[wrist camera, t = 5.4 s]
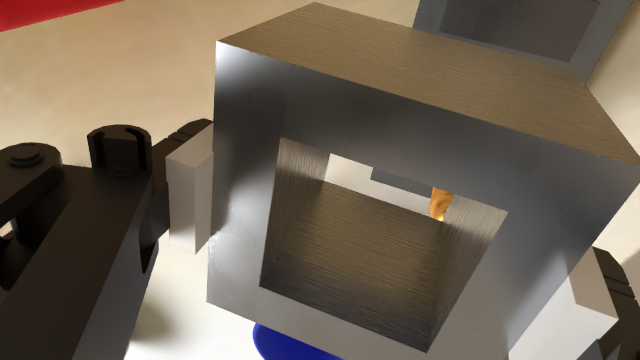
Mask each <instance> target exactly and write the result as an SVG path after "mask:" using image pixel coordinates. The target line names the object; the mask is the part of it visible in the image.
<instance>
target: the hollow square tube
mask: <svg viewBox="0 0 640 360" xmlns="http://www.w3.org/2000/svg"><path fill="white" fill-rule="evenodd" d="M212 152H214V160H213V185H212V210H211V235H210V238H209V252H208V279H207V302H208V303H211V304H213V305H215V306H218V307H220V308H223V309H225V310H227V311H230V312H232V313H235V314H237V315H239V316H242V317H244V318H246V319H249V320H251V321H254V322H256V323H258V324H261V325H263V326H266V327H268V328H270V329H273V330H275V331H278V332H280V333H282V334H285V335H287V336H290V337H292V338H294V339H297V340H299V341H302V342H304V343H306V344H309V345H311V346H314V347H316V348H318V349H321V350H323V351H326V352H328V353H330V354H333V355H335V356H338V357H340V358H342V359H345V360H503V359H504V357H505V356H506V355H507V354H508V352H509V351H510V350H511V348H512V347H513V346H514V344H515V343H516V342H517V341H518V339H519V338H520V337H521V335H522V334H523V333H524V332H525V330H526V329H527V328H528V326H529V325H530V324H531V323H532V321H533V320H534V319H535V317H536V316H537V315H538V313H539V312H540V311H541V310H542V308H543V307H544V306H545V304H546V303H547V302H548V301H549V299H550V298H551V297H552V295H553V294H554V293H555V292H556V290H557V289H558V288H559V286H560V285H561V284H562V283H563V281H564V280H565V279H566V277H567V276H568V275H569V273H570V272H571V271H572V270H573V268H574V267H575V266H576V264H577V263H578V262H579V261H580V259H581V258H582V257H583V255H584V254H585V253H586V252H587V250H588V249H589V248H590V246H591V245H592V244H593V242H594V241H595V240H596V239H597V237H598V236H599V235H600V233H601V232H602V231H603V230H604V228H605V227H606V226H607V224H608V223H609V222H610V221H611V219H612V218H613V217H614V215H615V214H616V213H617V211H618V210H619V209H620V208H621V206H622V205H623V204H624V202H625V201H626V200H627V199H628V197H629V196H630V195H631V193H632V192H633V191H634V190H635V188H636V187H637V186H638V184H639V183H640V156H639V155H638V154H637V152H636V151H635V150H634V149H633V147H632V146H631V145H630V143H629V142H628V141H627V139H626V138H625V137H624V135H623V134H622V133H621V132H620V130H619V129H618V128H617V126H616V125H615V124H614V122H613V121H612V120H611V118H610V117H609V116H608V115H607V113H606V112H605V111H604V109H603V108H602V107H601V105H600V104H599V103H598V101H597V100H596V99H595V98H594V96H593V95H592V94H591V92H590V91H589V90H588V88H587V87H586V86H585V85H584V83H583V82H582V81H581V79H580V78H579V77H578V75H577V74H576V73H575V72H574V71H571V70H567V69H563V68H559V67H556V66H552V65H548V64H544V63H541V62H537V61H533V60H529V59H526V58H522V57H518V56H514V55H511V54H507V53H503V52H500V51H496V50H492V49H488V48H485V47H481V46H477V45H473V44H470V43H466V42H462V41H458V40H455V39H451V38H447V37H443V36H440V35H436V34H432V33H428V32H425V31H421V30H417V29H413V28H410V27H406V26H402V25H398V24H395V23H391V22H387V21H383V20H380V19H376V18H372V17H368V16H365V15H361V14H357V13H353V12H350V11H346V10H342V9H338V8H335V7H331V6H327V5H323V4H320V3H316V2H314V3H311V4H309V5H306V6H304V7H301V8H298V9H296V10H293V11H291V12H288V13H286V14H283V15H281V16H278V17H276V18H273V19H271V20H268V21H266V22H263V23H261V24H258V25H256V26H253V27H251V28H248V29H246V30H243V31H241V32H238V33H236V34H233V35H231V36H228V37H226V38H223V39H221V40H218V41H216V66H215V92H214V119H213V146H212ZM330 153H332V154H335V155H338V156H341V157H344V158H347V159H350V160H353V161H356V162H359V163H362V164H365V165H368V166H371V167H374V168H377V169H380V170H383V171H386V172H389V173H392V174H395V175H398V176H401V177H404V178H407V179H410V180H413V181H416V182H420V183H423V184H426V185H429V186H432V187H435V188H438V189H441V190H444V191H447V192H450V193H453V194H454V195H453V197H452V199H451V202H450V204H449V206H448V208H447V210H446V212H445V215H444V217H443V219H442V221H440V220H437V219H434V218H431V217H428V216H425V215H422V214H419V213H416V212H413V211H410V210H408V209H405V208H402V207H399V206H396V205H393V204H390V203H387V202H384V201H381V200H378V199H376V198H373V197H370V196H367V195H364V194H361V193H358V192H355V191H352V190H349V189H346V188H343V187H341V186H338V185H335V184H332V183H329V182H326V181H324V178H325V174H326V169H327V165H328V161H329V156H330Z"/></svg>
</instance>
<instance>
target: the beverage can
mask: <svg viewBox="0 0 640 360" xmlns="http://www.w3.org/2000/svg"><path fill="white" fill-rule="evenodd" d="M121 1H124V0H0V32H3V31H7V30H11V29H15V28H19V27H23V26H27V25H30V24H34V23H38V22H42V21H46V20H50V19H54V18H58V17H62V16H66V15H70V14H74V13H78V12H82V11H85V10H89V9H93V8H97V7H101V6H105V5H109V4H113V3H117V2H121Z"/></svg>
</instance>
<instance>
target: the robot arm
mask: <svg viewBox="0 0 640 360" xmlns="http://www.w3.org/2000/svg"><path fill="white" fill-rule="evenodd" d="M87 140H88V146H89V152H90V157H91V163H92V168H89V167H81V166H73V165H65V164H62V159H61V155H60V152H59V151H58V150H57V149H56V147H53V146H51V145H48V144H43V143H32V142H29V143H20V144H17V145H13V146H9V147H6V148H4V149H2V150H0V229H1V228H2V227H3V226H4V225H6V224H7V223H8V222H10V225H11V227H12V230H11V231H10V232H8V233H7V234H6V235H4V236H2V237H1V236H0V360H123V359H124V356H125V353H126V350H127V347H128V344H129V341H130V338H131V335H132V331H133V328H134V325H135V322H136V319H137V316H138V313H139V310H140V307H141V304H142V301H143V298H144V294H145V291H146V288H147V285H148V282H149V279H150V276H151V273H152V270H153V267H154V264H155V260H156V257H157V254H158V249H159V242H158V239H159V238H160V237H161V236H162V235H163V234H164V233H165V232H166V231H167V230H168V229H169V241H170V245H172V246H174V247H177V248H179V249H182V250H184V251H187V252H189V253H192V254H194V255H196V253H197V252H198V251H199V250H200V249H201V248H202V247H203V245H204V244H205V243H206V242H207V241H208V240H209V238H210V235H211V210H212V185H213V160H214V152H212V146H213V121H211V120H208V119H205V118H203V119H200V120H196V121H193V122H189V123H187V124H186V125H184V126H183V127H181V128H180V129H178V130H177V132H174V133H172V134H171V135H169V136H168V138H165V139H163V140H162V141H160V142H159V143H157V144H156V145H154V146H153V147H152V143H151V136H150V134H149V133H148V132H147V131H146V130H144V129H142V128H140V127H136V126H132V125H117V124H116V125H109V126H103V127H101V128H98V129H95V130H93V131H92V132H91V133H89V134H88V135H87ZM634 298H635V296H634V293H633V291H632V289H631V287H630V286H629V282H628V279H627V277H626V275H625V273H624V270H623V268H622V267H621V266H620V265H619V263H618V262H617V261H616V260H615V259H614V258H613V257H612V255H611V254H610V253H609V252H608V251H605V250H602V249H599V248H596V247H593V246H592V245H591V246H590V248H589V249H588V250H587V252H586V253H585V254H584V255H583V257H582V258H581V259H580V261H579V262H578V263H577V264H576V266H575V267H574V268H573V270H572V271H571V272H570V273H569V275H568V276H567V277H566V279H565V280H564V281H563V283H562V284H561V285H560V286H559V288H558V289H557V290H556V292H555V293H554V294H553V295H552V297H551V298H550V299H549V301H548V302H547V303H546V304H545V306H544V307H543V308H542V310H541V311H540V312H539V313H538V315H537V316H536V317H535V319H534V320H533V321H532V323H531V324H530V325H529V326H528V328H527V329H526V330H525V332H524V333H523V334H522V335H521V337H520V338H519V339H518V341H517V342H516V343H515V344H514V346H513V347H512V348H511V350H510V351H509V360H640V307H639V305H638V303H637V300H634Z"/></svg>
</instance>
